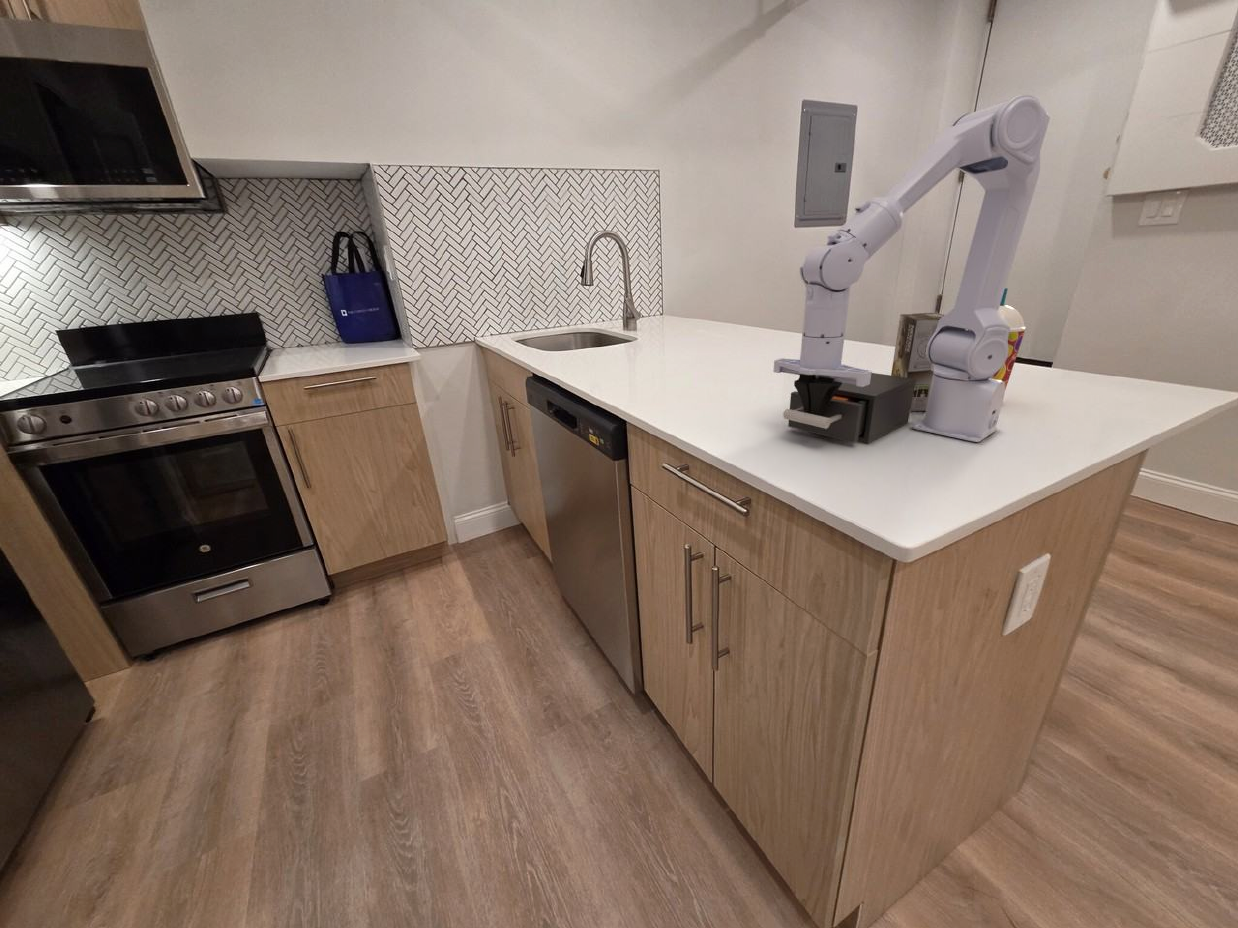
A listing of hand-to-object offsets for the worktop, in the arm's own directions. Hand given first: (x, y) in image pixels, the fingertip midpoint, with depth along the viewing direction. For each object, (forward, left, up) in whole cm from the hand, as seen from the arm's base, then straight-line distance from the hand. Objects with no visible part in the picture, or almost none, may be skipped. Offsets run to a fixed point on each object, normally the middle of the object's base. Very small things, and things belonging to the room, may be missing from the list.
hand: (813, 424), depth 78 cm
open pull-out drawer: (0, -6, -2) cm, 6 cm away
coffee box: (-2, -30, -3) cm, 30 cm away
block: (0, -6, -1) cm, 6 cm away
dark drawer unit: (0, -12, -3) cm, 12 cm away
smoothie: (-10, -39, -3) cm, 40 cm away
